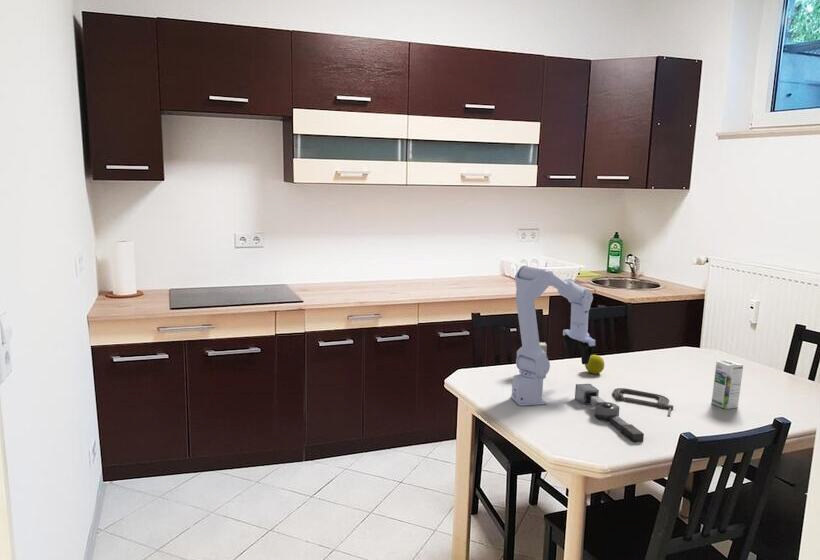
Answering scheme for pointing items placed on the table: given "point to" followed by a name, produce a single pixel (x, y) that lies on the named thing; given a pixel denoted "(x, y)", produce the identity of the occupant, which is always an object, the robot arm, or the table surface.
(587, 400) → the brushed steel cube
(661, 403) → the c clamp
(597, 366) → the tennis ball
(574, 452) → the table surface
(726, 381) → the syrup box
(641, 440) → the ratchet
